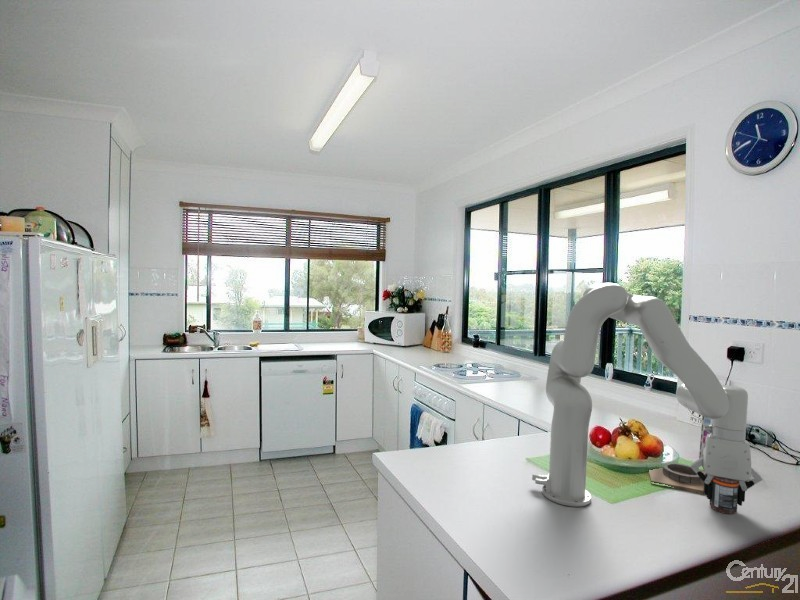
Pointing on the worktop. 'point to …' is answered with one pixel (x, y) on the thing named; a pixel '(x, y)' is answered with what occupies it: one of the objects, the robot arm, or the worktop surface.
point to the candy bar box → (703, 434)
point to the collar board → (674, 483)
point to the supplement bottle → (724, 495)
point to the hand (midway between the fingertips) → (723, 499)
